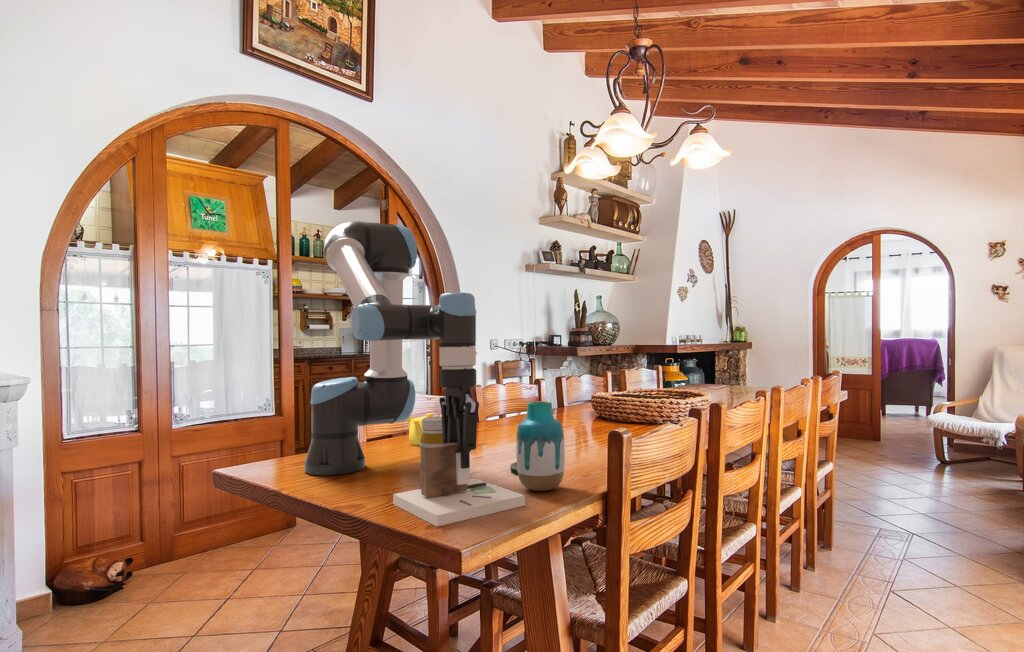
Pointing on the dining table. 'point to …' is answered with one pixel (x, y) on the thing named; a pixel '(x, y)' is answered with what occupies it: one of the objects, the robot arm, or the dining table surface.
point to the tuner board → (459, 503)
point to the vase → (540, 448)
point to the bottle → (431, 431)
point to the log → (514, 468)
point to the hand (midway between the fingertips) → (459, 481)
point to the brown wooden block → (440, 470)
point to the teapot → (416, 429)
